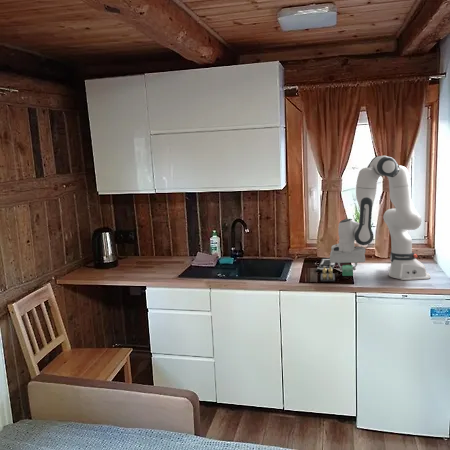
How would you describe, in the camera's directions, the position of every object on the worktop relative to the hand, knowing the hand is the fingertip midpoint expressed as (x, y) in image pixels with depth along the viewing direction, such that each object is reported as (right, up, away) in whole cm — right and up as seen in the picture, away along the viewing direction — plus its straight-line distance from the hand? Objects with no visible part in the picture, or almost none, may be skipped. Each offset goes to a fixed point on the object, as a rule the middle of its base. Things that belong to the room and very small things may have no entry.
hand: (347, 269), depth 271 cm
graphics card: (-7, -2, +26) cm, 27 cm away
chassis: (-11, -5, +2) cm, 13 cm away
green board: (0, -2, 0) cm, 2 cm away
